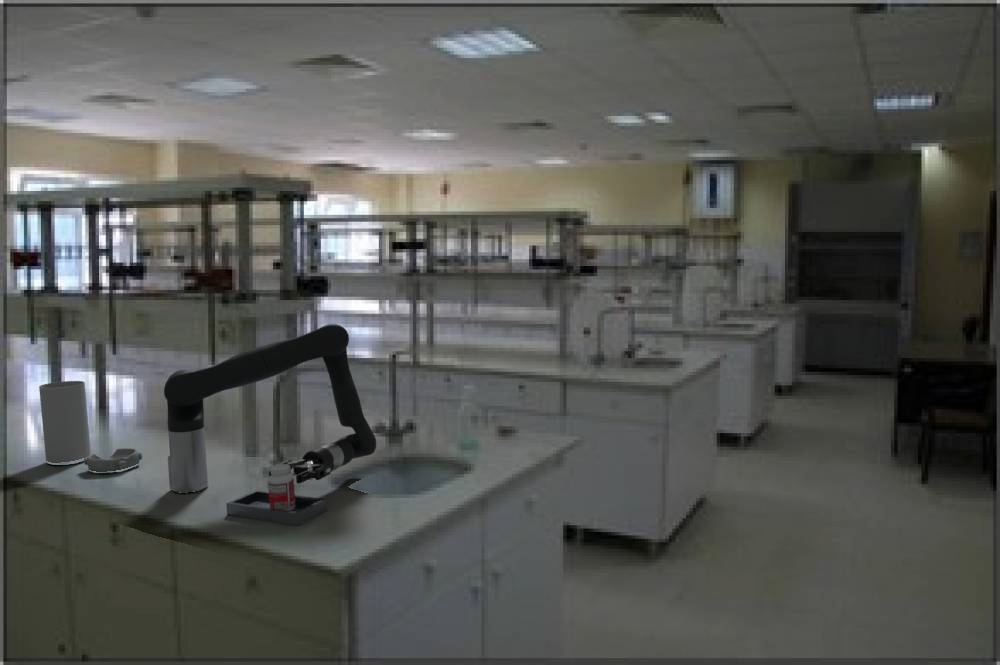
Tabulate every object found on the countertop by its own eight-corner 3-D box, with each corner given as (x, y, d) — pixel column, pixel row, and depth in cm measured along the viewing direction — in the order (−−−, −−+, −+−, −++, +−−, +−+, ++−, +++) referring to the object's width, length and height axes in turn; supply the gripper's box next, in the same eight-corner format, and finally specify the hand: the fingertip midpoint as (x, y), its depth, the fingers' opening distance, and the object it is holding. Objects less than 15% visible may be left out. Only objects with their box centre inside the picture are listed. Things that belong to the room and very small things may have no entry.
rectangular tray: (227, 514, 187) (226, 503, 186) (257, 500, 197) (256, 489, 196) (298, 526, 178) (297, 513, 178) (326, 510, 188) (325, 499, 188)
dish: (78, 473, 226) (76, 457, 225) (116, 461, 238) (115, 445, 238) (113, 478, 220) (112, 461, 220) (151, 465, 233) (149, 449, 233)
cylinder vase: (79, 453, 248) (73, 379, 245) (98, 459, 240) (92, 383, 238) (39, 463, 237) (31, 385, 235) (57, 469, 230) (50, 389, 227)
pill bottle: (287, 503, 191) (284, 461, 190) (300, 509, 187) (297, 466, 185) (265, 510, 186) (262, 467, 185) (278, 515, 182) (275, 472, 181)
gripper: (301, 444, 204) (260, 460, 189) (344, 449, 198) (306, 466, 183) (302, 471, 204) (262, 489, 190) (346, 476, 199) (307, 495, 184)
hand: (283, 477), depth 186 cm, fingers open, 8 cm apart
